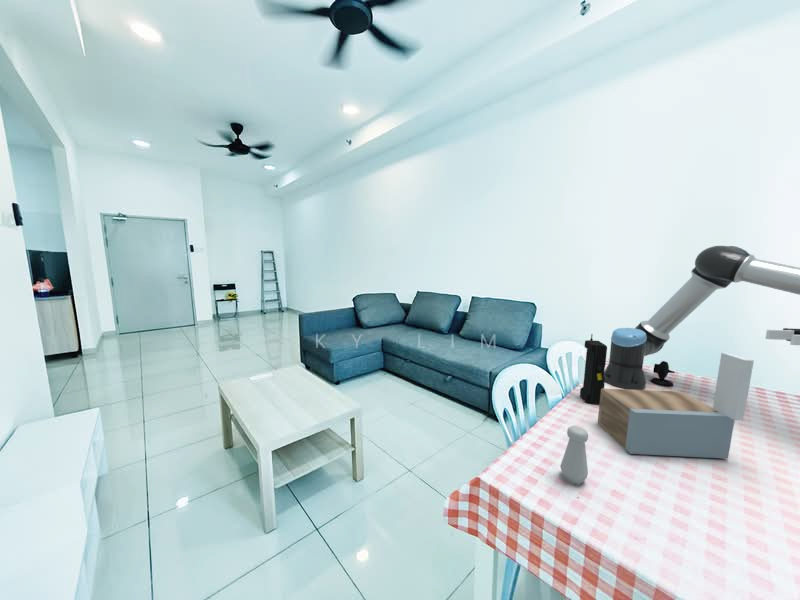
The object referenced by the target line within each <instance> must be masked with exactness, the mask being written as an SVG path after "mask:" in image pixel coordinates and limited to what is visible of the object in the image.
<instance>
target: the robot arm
mask: <svg viewBox="0 0 800 600" xmlns="http://www.w3.org/2000/svg"><path fill="white" fill-rule="evenodd" d="M694 265H695V267H694V268H692V269H691V271H690V272H691V277H690V278H689V279H688V280H687V281H686V282H685V283H684V284H683V285H682V286H681V287H680V288H679V289H678V290H677V291H676V292H675V293H674V294H673V295H672V296H671V297H670V298H669V299H668V300H667V301H666V302H665V303H664V304H663V305H662V306H661V307H660V308H659V309H658V310H657V311H656V312H655V313H654V314H653V315H652V316H651V317H650V319H648V320H642V321H640V322H639V324H638V325H637V326H636V327H620V328H616V329H614V330H613V331H612V334H611V337H610V341H611V342H610V350H609V359H608V364H607V366H605V370H604V377H605V382H606V383H607V384H609V385H612V386H614V387H617V388H620V389H630V390H645V389H646V385H647V380H646V378H645V375H644V374H645V373H644V370H643V368H644V367H643V366H644V358H645V357H647V356H650V355H654V354H656V353H658V352H659V351H661V350H662V349H663V348H664V345H665V344H666V343H667V342H668V341H669V340H670V333H671V332H672V331H673V330H674V329H676V328H677V327H678V326H679V325H680V323H682V322H683V321H684V320H685V319H686V318H688V317H689V315H691V314H692V313H693V312H695V310H696V309H697V308H699V306H701V304H703V303H704V301H706V300H707V299H708V298H709V297H711V295H712V294H713V293H715V292H716V291H717V290H720V289H721V290H722V289H726V288H727V287H728V286H729V285H730V284H732V283H740V282H746V283H749V284H753V285H758V286H761V287H766V288H771V289H774V290H777V291H778V290H779V291H782V292H787V293H791V294H794V295H799V296H800V267H799V266H794V265H788V264H783V263H778V262H773V261H768V260H764V259H759V258H756V257H755V255H754V254H750V252H748V251H747V250H746V249H743V248H741V247H739V246H734V245H715V246H713V245H712V246H711V247H710V246H709V247H707V248H705V249H704V250H702V251H701V252H699V253H698V254H697V256H696V258H695V261H694ZM765 333H766V334H765V340H777V341H778V340H779V341H780V340H783V341H784V340H785V341H787V342H790V344H789V345H792V346H800V328H787V327H783V328H782V329H766V332H765Z"/></svg>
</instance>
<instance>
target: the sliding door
mask: <svg viewBox="0 0 800 600" xmlns="http://www.w3.org/2000/svg"><path fill="white" fill-rule="evenodd" d="M719 360H720V361H719V365H718V366H719V367H718V372H717V373H718V374H717V378H716V379H717V380H716V386H715V390H714V391H715V392H714V398H713V404H712V408H713V409H714V410H716V411H718V412H696V411H672V410H648V409H630V413H629V421H628V430H627V438H626V446H625V449H626V450H625V449H624V450H625V451H627V453H629V454H630V455H632V454H633V455H648V456H649V455H650V456H652V455H653V456H670V457H672V456H673V457H674V456H675V457H689V458H707V459H708V458H709V459H711V458H712V459H724V460H725V459H726V460H728V459H729V454H730V450H731V443H732V438H733V431H734V425H735V421H739V422H740V421H744V418H745V412H746V406H747V400H748V395H749V391H750V390H749V389H750V385H751V378H752V373H753V368H754V361H755V360H754V359H751V358H747V357H743V356H740V355H737V354H734V353H730V352H721V353H720V358H719Z"/></svg>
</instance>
